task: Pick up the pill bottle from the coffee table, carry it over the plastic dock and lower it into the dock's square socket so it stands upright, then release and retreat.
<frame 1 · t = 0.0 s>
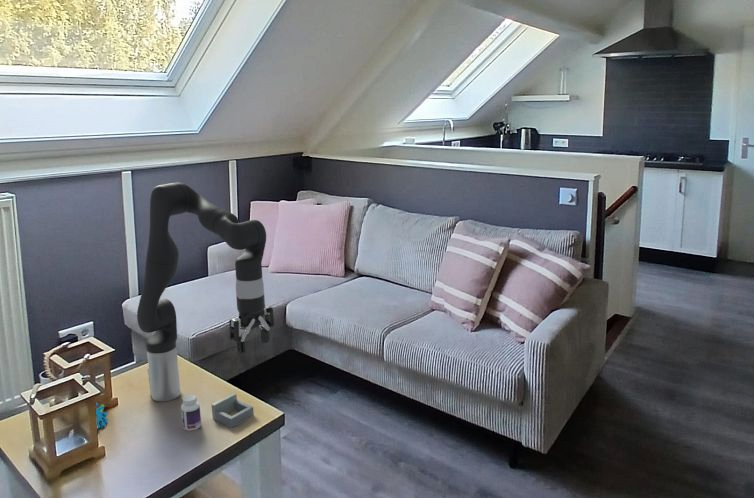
hand: (253, 347, 173), 29 cm above the table, tool pointing down, fingers open, 8 cm apart
pill bottle: (192, 426, 188), on the table
dock: (233, 417, 193), on the table
blue lumpy piece: (95, 425, 189), on the table
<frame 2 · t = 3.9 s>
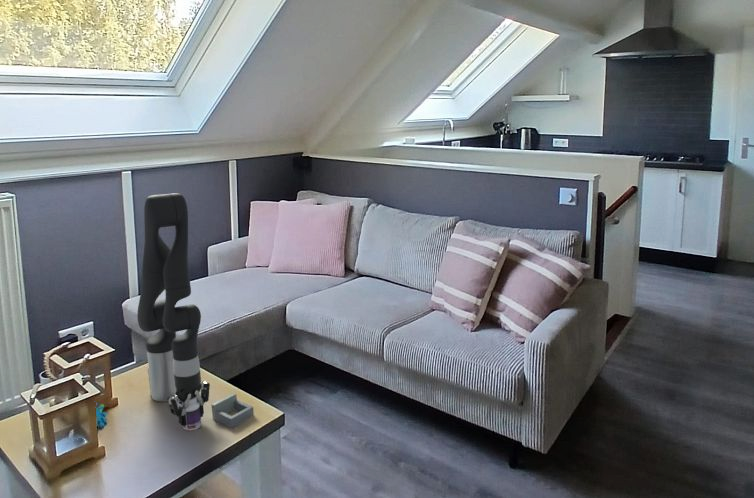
hand: (191, 420, 187), 2 cm above the table, tool pointing down, fingers closed on pill bottle, 5 cm apart
pill bottle: (192, 426, 188), on the table, touching gripper
everything else where it was.
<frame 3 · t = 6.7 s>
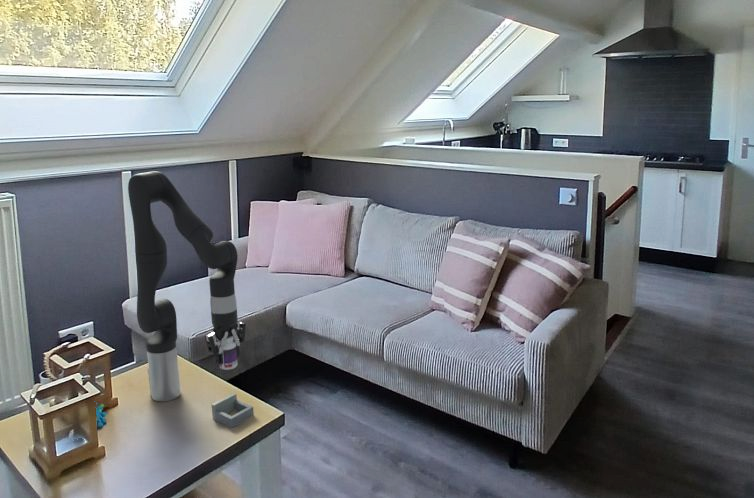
hand: (227, 360, 187), 20 cm above the table, tool pointing down, fingers closed on pill bottle, 5 cm apart
pill bottle: (228, 366, 188), point 17 cm above the table, touching gripper
everything else where it was.
when the fingers open (4 cm above the table, at t = 9.8 s): pill bottle drops 2 cm, resting in dock.
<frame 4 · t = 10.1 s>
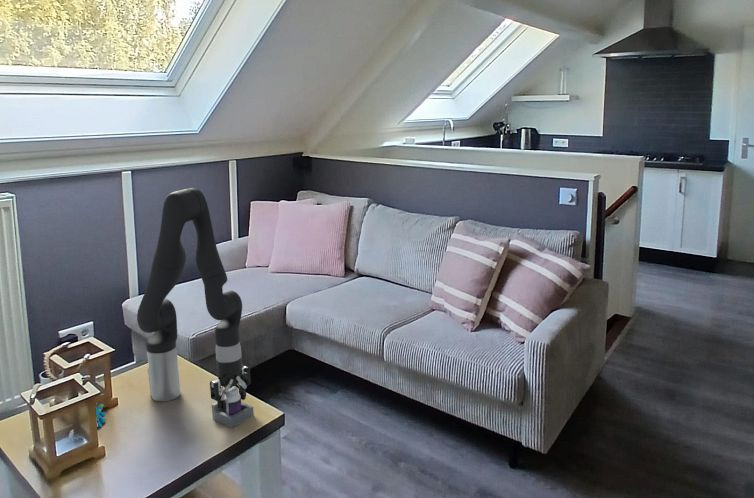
hand: (232, 404, 192), 4 cm above the table, tool pointing down, fingers open, 7 cm apart
pill bottle: (233, 417, 193), resting in dock
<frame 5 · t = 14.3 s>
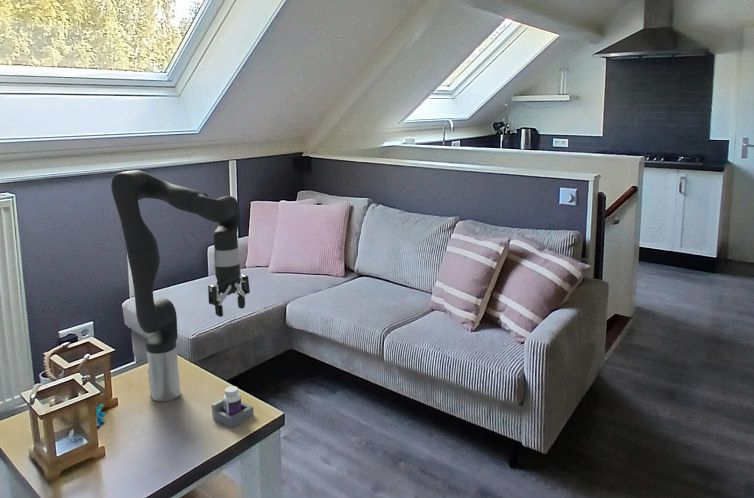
hand: (230, 312, 192), 32 cm above the table, tool pointing down, fingers open, 8 cm apart
at the end: pill bottle 0.0 cm off-centre on the dock, point 0.0 cm above the dock's base; pill bottle tilted 0°; the gripper is holding nothing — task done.
